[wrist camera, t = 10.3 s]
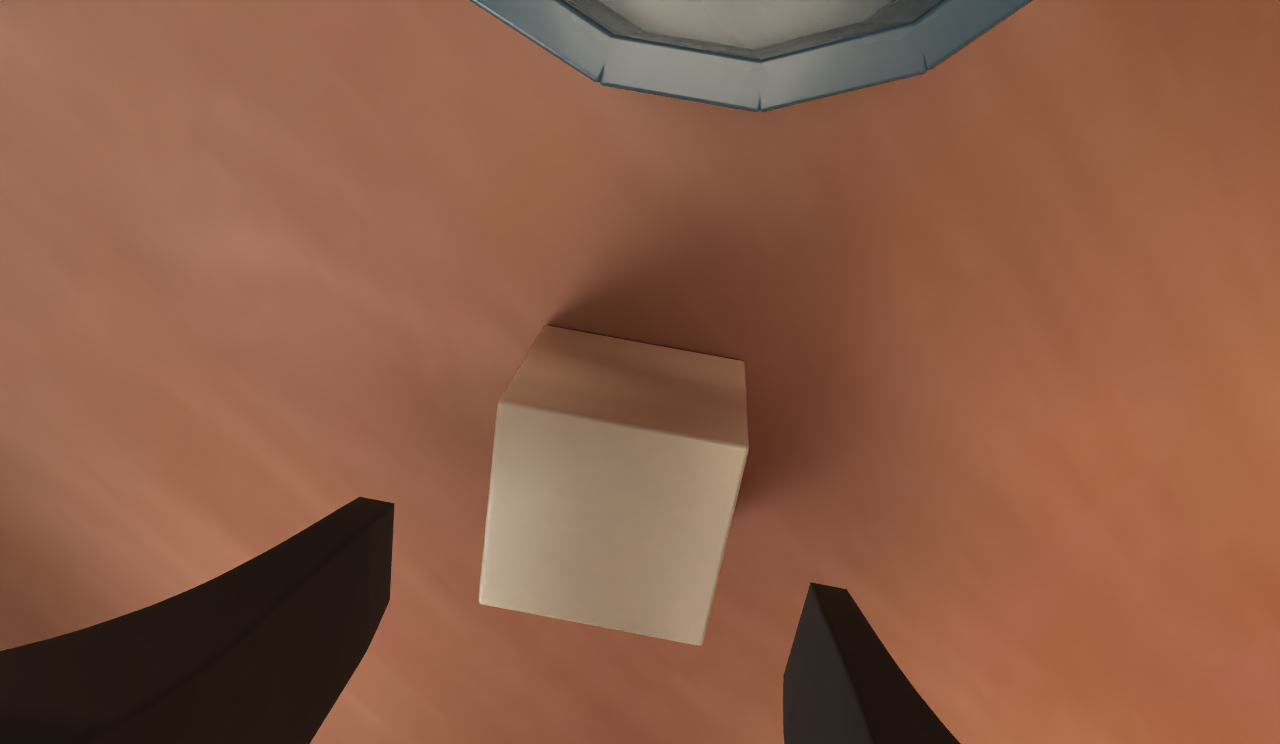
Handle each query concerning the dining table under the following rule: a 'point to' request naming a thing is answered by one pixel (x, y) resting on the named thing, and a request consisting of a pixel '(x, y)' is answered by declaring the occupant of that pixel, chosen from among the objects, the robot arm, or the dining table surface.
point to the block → (614, 484)
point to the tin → (751, 43)
